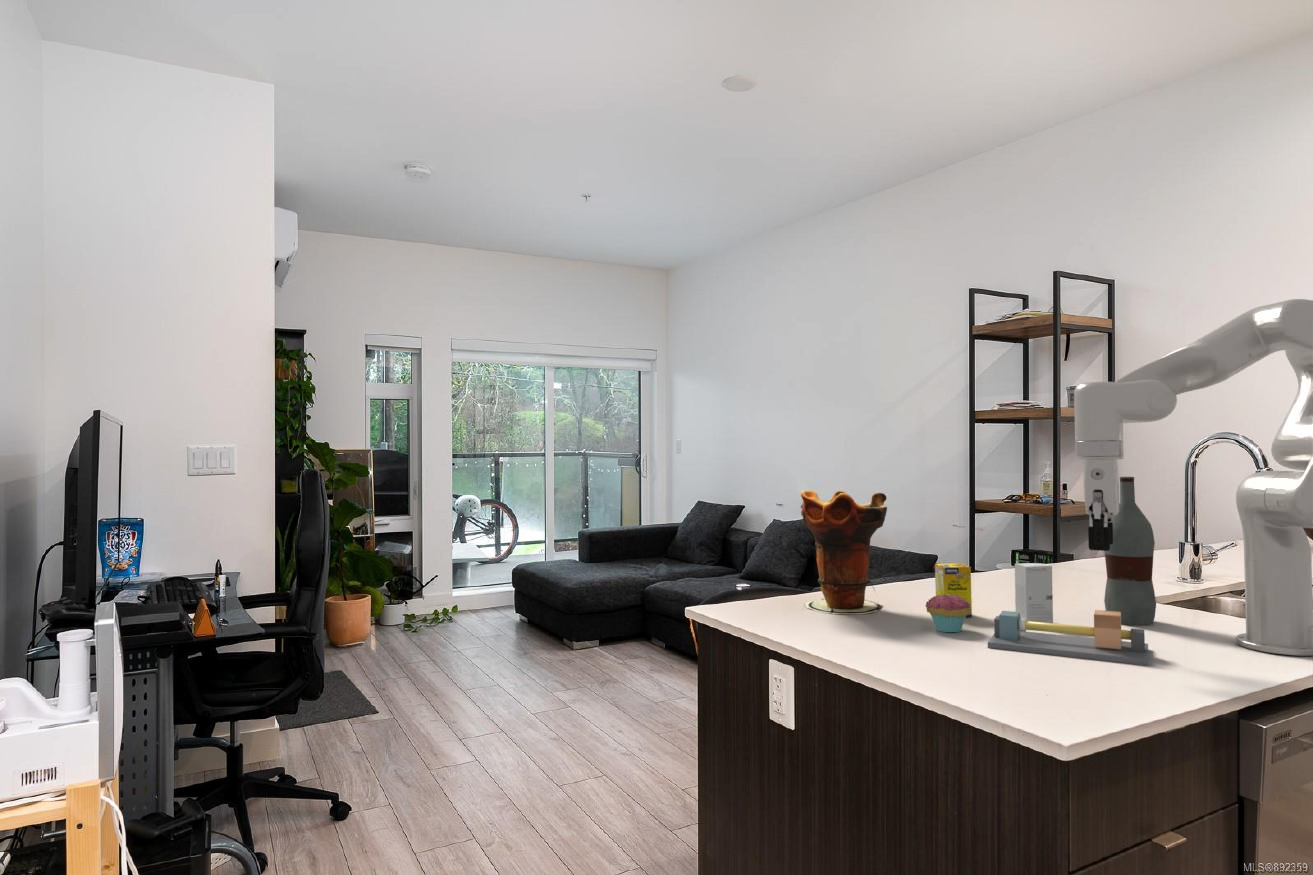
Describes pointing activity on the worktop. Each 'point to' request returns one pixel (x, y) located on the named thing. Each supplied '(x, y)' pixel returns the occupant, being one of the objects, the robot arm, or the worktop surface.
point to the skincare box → (1034, 592)
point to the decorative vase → (843, 549)
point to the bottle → (1130, 562)
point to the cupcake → (948, 610)
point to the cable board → (1064, 640)
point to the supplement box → (955, 581)
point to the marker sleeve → (1107, 629)
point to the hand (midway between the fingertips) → (1101, 547)
